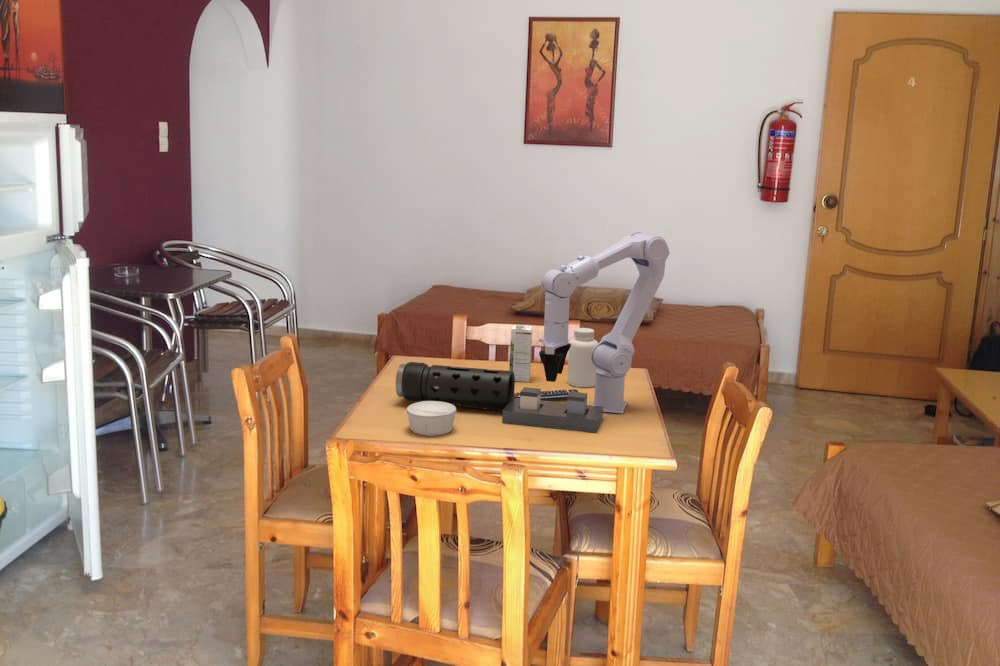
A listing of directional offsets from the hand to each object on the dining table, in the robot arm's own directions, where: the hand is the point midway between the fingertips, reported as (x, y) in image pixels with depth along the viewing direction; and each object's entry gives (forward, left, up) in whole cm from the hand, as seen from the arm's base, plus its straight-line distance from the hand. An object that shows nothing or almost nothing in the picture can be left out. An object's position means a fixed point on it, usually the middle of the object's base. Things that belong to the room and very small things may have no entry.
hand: (554, 377), depth 226 cm
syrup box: (-29, -15, -10) cm, 34 cm away
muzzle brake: (+1, -24, -10) cm, 26 cm away
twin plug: (+5, +6, -10) cm, 12 cm away
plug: (+5, -5, -9) cm, 11 cm away
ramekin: (+20, -24, -10) cm, 33 cm away
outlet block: (+5, +1, -9) cm, 10 cm away
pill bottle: (-30, +2, -10) cm, 32 cm away
